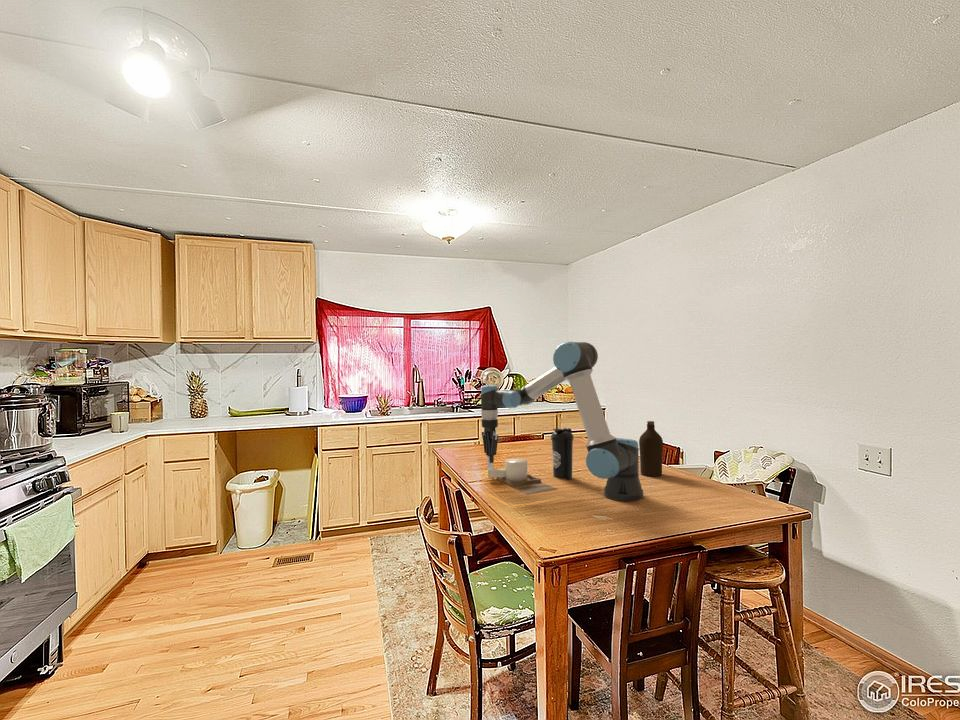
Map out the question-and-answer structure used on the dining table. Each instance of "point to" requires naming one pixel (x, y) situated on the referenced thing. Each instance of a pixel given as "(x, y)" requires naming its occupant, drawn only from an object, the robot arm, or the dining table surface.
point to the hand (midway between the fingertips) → (490, 469)
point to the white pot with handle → (511, 470)
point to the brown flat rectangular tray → (528, 485)
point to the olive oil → (651, 452)
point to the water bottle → (562, 453)
